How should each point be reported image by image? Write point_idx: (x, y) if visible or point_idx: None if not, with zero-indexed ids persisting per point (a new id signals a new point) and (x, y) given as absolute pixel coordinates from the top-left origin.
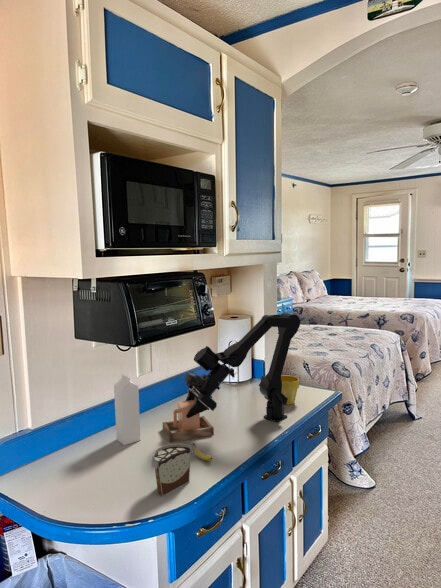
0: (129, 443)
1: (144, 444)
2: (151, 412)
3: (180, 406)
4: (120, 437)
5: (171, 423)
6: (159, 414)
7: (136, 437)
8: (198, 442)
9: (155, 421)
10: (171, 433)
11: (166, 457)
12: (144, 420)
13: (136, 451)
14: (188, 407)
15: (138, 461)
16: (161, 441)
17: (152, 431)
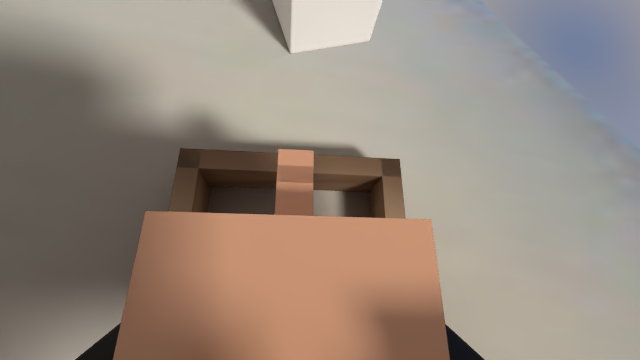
0: (276, 10)
1: (237, 58)
2: (637, 178)
3: (252, 216)
4: None
5: (382, 216)
6: (606, 212)
7: (283, 21)
8: (81, 343)
9: (505, 167)
10: (194, 164)
11: None
12: (527, 121)
13: (183, 17)
14: (124, 334)
15: (80, 3)
16: (230, 132)
17: (375, 123)
